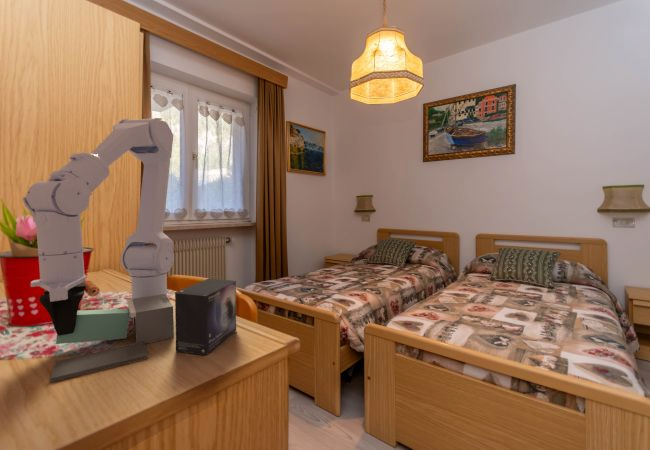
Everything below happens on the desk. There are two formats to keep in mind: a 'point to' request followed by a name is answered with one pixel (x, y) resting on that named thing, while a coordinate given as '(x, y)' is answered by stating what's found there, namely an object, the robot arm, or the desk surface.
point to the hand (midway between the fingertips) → (67, 330)
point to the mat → (97, 361)
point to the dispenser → (152, 318)
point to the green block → (98, 326)
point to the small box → (205, 315)
